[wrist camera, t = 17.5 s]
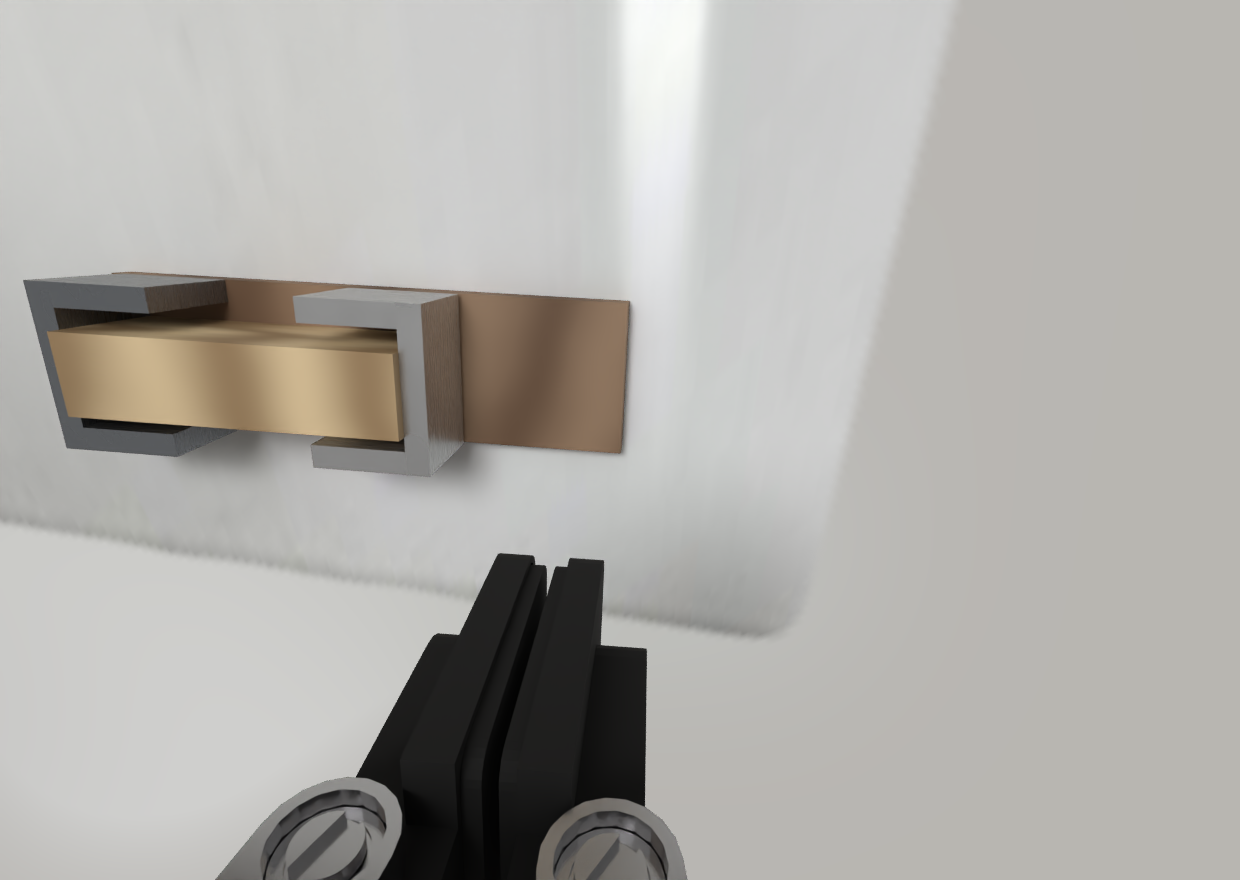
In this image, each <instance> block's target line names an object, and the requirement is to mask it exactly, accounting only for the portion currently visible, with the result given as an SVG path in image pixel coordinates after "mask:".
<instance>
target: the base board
mask: <svg viewBox="0 0 1240 880" xmlns="http://www.w3.org/2000/svg"><path fill="white" fill-rule="evenodd" d="M112 274H137V275H154V276H171V277H188V278H205V279H222V280H225V283H226V289H227V295H228V302H225V303H218V304H211V305H204V306H197V307H191V308H184V309H177V310H170V311H163V312H156V313H150V316H161V317H176V318H192V319H208V320H224V321H240V322H255V323H271V324H287V325H303V326H319V327H334V328H350V329H366V330H382V331H397V329H385V328H370V327H354V326H338V325H322V324H306V323H296V320H295V312H294V304H293V296H298V295H305V294H311V293H317V292H324V291H330V290H337V289H343V288H363V289H380V290H397V291H414V292H431V293H448V294H458V303H459V330H460V358H461V385H462V413H463V440H464V442H474V443H488V444H501V445H514V446H528V447H541V448H555V449H568V450H581V451H595V452H608V453H620V452H621V448H622V436H623V417H624V399H625V380H626V361H627V342H628V323H629V304H630V301H620V300H603V299H586V298H569V297H552V296H535V295H518V294H500V293H483V292H466V291H449V290H432V289H415V288H398V287H381V286H364V285H347V284H330V283H312V282H295V281H278V280H261V279H244V278H227V277H210V276H193V275H176V274H159V273H142V272H120V273H112Z"/></svg>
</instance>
